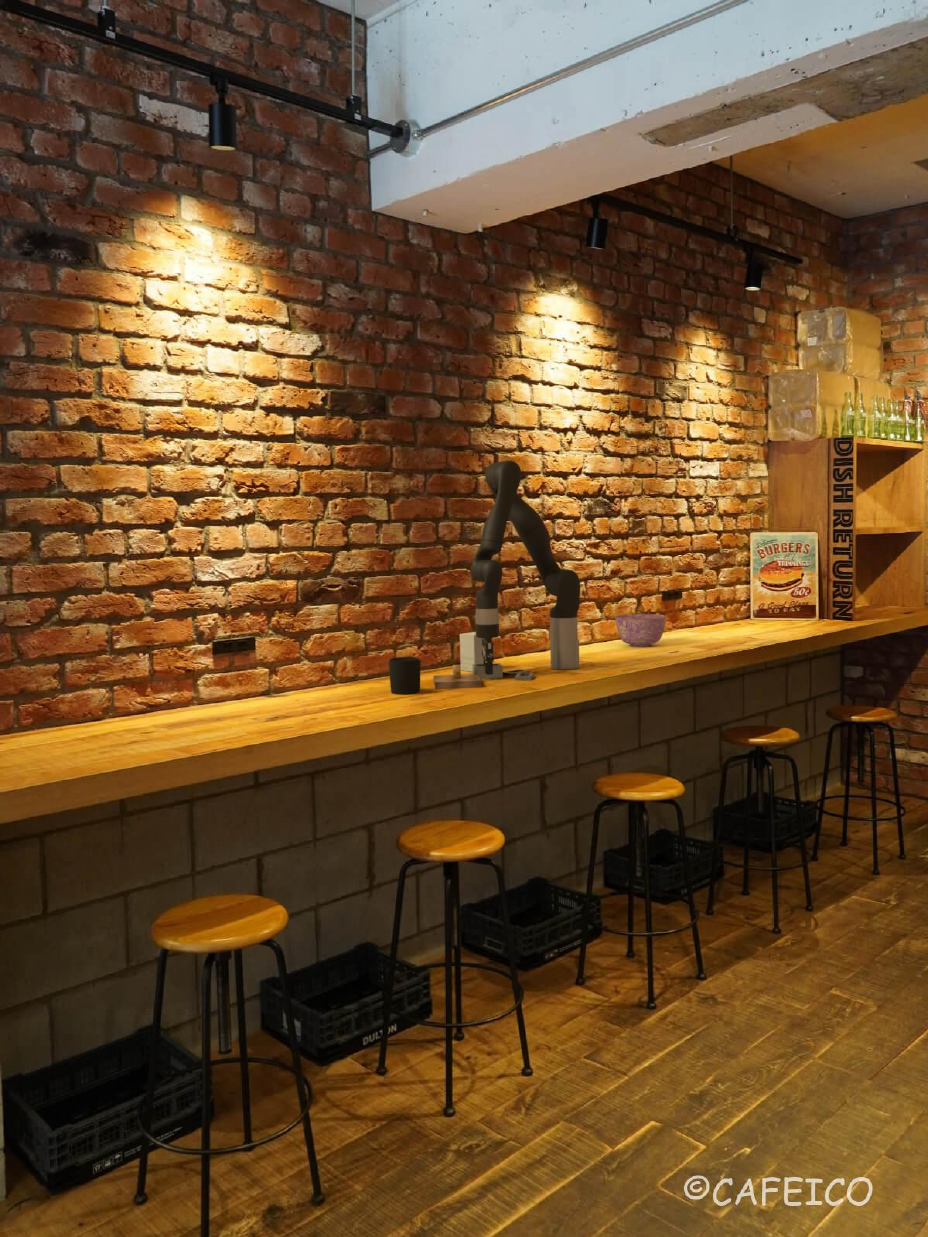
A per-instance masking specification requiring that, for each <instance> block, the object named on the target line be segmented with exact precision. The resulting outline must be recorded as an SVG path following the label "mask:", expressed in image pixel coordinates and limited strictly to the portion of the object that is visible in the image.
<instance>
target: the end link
mask: <svg viewBox="0 0 928 1237" xmlns="http://www.w3.org/2000/svg"><path fill="white" fill-rule="evenodd" d="M503 666H504V665H502V664H501V663H499V662H497V663H493V674H492V675H487V674H486V664H472V668H473V672H472V674H478V676H479V677H480V679H481V680H487V679H488V680H490V679H492V680H493V679H503V677H504V676H503V672H504V671H503V668H504V667H503Z"/></svg>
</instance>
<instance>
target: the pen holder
mask: <svg viewBox="0 0 928 1237" xmlns="http://www.w3.org/2000/svg"><path fill="white" fill-rule="evenodd" d="M388 671H389V672H388V673H389V685H390V692H391V693H392V694H395V695H414V694H417V693H420V691H421V660H420V659H419V658H418V657H417V656H416V657H415V656H399V657H397V656H396V657H391V658H390V659H389V661H388Z"/></svg>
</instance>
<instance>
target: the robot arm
mask: <svg viewBox="0 0 928 1237" xmlns="http://www.w3.org/2000/svg"><path fill="white" fill-rule="evenodd" d="M484 478H485V482H486V485H487V486H488V488H489V490H490V491H491V493H492V494H493V495H494V496H495V501H494V504H493V506H492V508H491V510H490V511H489V514H488V516H487V518H486V519H485V522H484V525H483V528H482V533H481V539H480V544H479V546H478V548H477V550H476V553H475V554H474V557H473V559H472V562H471V566H470V575H471V577H472V579H473V580H474V581H476V582H479V583H483V587H482V589H480V590H477V592H476V593H475V632H476V637H477V638H483V639H482V643H481V648H482V656H483V657H482V658H483V659H484V660H483V664H486V674H487V675H492V674H493V664H494V662H495V643H494V642H493V639H496V638H499V637H500V615H499V614H500V613H499V599H498V597H499V596H498V595H499V591H500V589H501V583H502V580H503V568H502V565H501V564H500V562H499V561H497V560H493V558H494V556H495V555H499V554H500V552H501V551H502V548H503V542H504V537H505V533H506V528H507V524H508V521H509V520H510V522H511V524H512V526H513V527H514V529H515V532H516V533H517V535H518V537H519V539H520V540H521V542H522V544H523V546H524V547H525V549H526V551H527V553H528V554H529V556H530V558H531V559H532V561H533V563H534V565H535V567H536V569H537V571H538V573H539V576H540V578H541V581H542V583H543V586H544V588H545V590H546V591H547V592H548V594H550V595H551V596H555V597H556V601H555V602H556V604H555V605H554V606H553V607H551V608H550V610H549V639H550V640H549V641H550V642H549V646H550V650H549V651H550V669H552V670H553V669H554V670H575V669H576V670H577V669H580V639H578V637H579V636H578V635H579V634H578V633H579V632H578V631H579V630H578V613H579V609H580V604H581V603H580V602H581V580H580V578H579V577H580V576H579V574H577V572H576V571H574V570H572V569H564V568H563V569H562V568H561V567H560V566H559V564H558V562H557V560H556V559H555V557H554V555H553V552H552V548H551V547H552V546H551V543H552V542H551V536H550V533H549V532H550V531H549V530H548V528H547V526H546V524H545V522H544V520H543V519H542V517H541V515H540V514H539V513H538V512H537V511H536V510H535V509H534V508H533V507H532V506H530V504H528V503H527V502H526V501H525V500H524V499H523V498H522V497H521V496H520V495H519V493H518V490H519V487H520V484H521V481H522V469H521V467H520V465H519V464H518V463H517V462H516V461H514V460H502V461H497V462H493V463H490V464H489V465H488V466H487V467H486V468H485V471H484ZM508 519H509V520H508Z"/></svg>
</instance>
